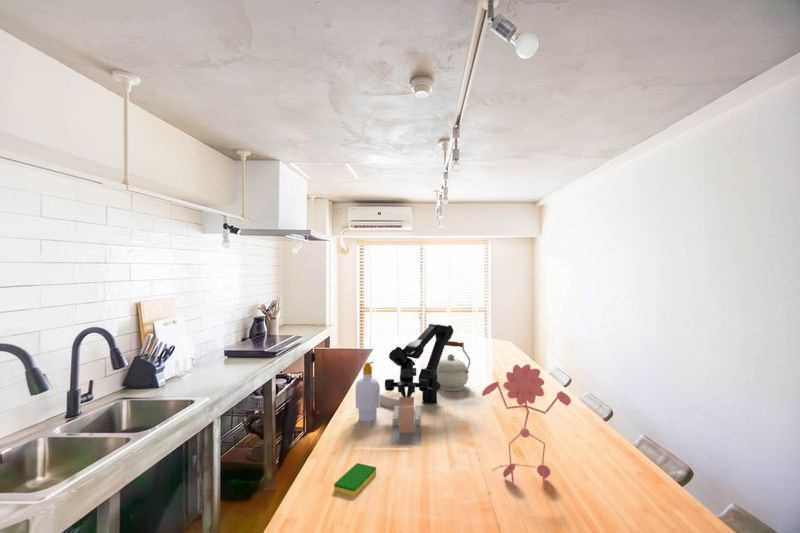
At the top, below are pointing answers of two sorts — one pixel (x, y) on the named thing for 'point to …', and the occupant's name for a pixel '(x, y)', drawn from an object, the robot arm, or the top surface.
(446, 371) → the kettle
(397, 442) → the chute
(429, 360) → the robot arm
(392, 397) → the supplement box
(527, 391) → the figurine
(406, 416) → the block
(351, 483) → the dish sponge
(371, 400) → the soap bottle
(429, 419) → the top surface
